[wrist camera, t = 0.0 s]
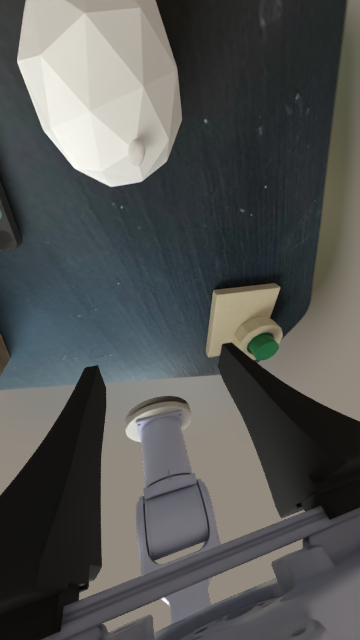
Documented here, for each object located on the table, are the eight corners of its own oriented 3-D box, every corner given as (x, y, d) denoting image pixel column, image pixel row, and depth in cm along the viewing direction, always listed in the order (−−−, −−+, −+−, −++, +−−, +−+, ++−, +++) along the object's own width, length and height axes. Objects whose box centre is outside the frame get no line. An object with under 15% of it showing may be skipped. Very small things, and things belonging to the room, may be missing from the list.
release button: (266, 348, 27) (274, 357, 26) (245, 352, 26) (252, 362, 25) (273, 330, 25) (282, 339, 24) (250, 334, 25) (258, 344, 23)
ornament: (175, 36, 11) (239, 129, 10) (113, 156, 16) (149, 236, 14) (23, -210, 6) (104, -103, 4) (-7, 79, 10) (25, 194, 8)
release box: (262, 341, 30) (274, 356, 28) (205, 352, 28) (213, 368, 26) (283, 281, 24) (301, 293, 22) (213, 289, 22) (224, 303, 20)
